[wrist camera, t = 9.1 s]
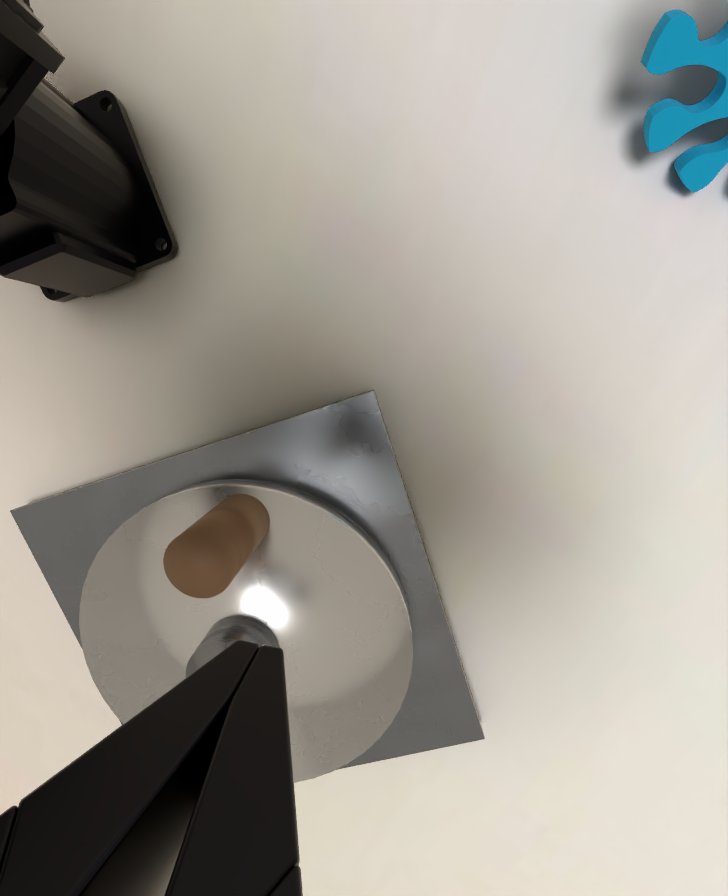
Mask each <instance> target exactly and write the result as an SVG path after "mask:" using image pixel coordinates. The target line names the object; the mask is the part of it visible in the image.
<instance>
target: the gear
mask: <svg viewBox="0 0 728 896" xmlns="http://www.w3.org/2000/svg"><path fill="white" fill-rule="evenodd" d="M641 62H642V64H643V65H644V66H645V67H646V69H647V70H648V71H649V72H650V73H652V74H657V75H659V74H664V73H666V72H669V71H671V70H673V69H675V68H679V67H682V66H686V65H695V64H698V65H706V66H708V67H711V68H713V69H715V70H717V71H718V80H717V83H716V85H715V87H714V89H713V90H712V91H711V93H710V94H709V95H708V96H707V97H706V98H705V99H703V100H702V101H701V102H699V103H697V104H694V105H684V104H682V103H680V102H678V101H676V100H674V99H664V100H661V101H659V102H657V103H655V104H654V105H652V106H651V107H650V108H649V109H648V110H647V114H646V117H645V122H644V140H645V144H646V146H647V148H648V150H649V152H657V151H661V150H663V149H666V148H667V147H669V146H670V145H672V144H673V143H674V142H675V141H676V140H678V139H679V138H680V137H682V136H683V135H684V134H686V133H687V132H689V131H690V130H692V129H694V128H696V127H698V126H700V125H702V124H704V123H707V122H709V121H713V120H716V119H720V118H726V117H728V22H727V23H726V24H725V26H724V27H723V28H722V29H721V30H720V31H719V32H718V33H717V34H716V35H714V36H713V37H711V38H709V39H707V40H703V41H699V38H698V32H697V26H696V23H695V21H694V19H693V18H692V17H691V16H689V15H688V14H686V13H685V12H683V11H681V10H672V11H669V12H666V13H665V14H664V15H663V16H662V18H661V19H660V21H659V22H658V24H657V25H656V27H655V29H654V31H653V33H652V35H651V37H650V39H649V41H648V44H647V46H646V49H645V51H644V54H643V57H642V60H641ZM727 162H728V134H727V135H726V136H725V137H724V138H722V139H721V140H719V141H716V142H713V143H709V144H703V145H698V146H694V147H692V148H690V149H688V150H687V151H685V152H684V153H683V154H682V155H680V157H679V158H678V159H677V160H676V161H675V163H674V167H675V170H676V172H677V174H678V176H679V178H680V179H681V181H682V182H683V184H684V185H685V186H686V187H687V188H688V189H689V190H690V191H692V192H696V191H698V190H700V189H702V188H704V187H705V186H707V185H708V184H709V183H710V182H711V181H712V180H713V179H714V178H715V176H716V175H717V174H718V172H719V171H720V170H721V169H722V168H723V166H724V165H725V164H726V163H727Z"/></svg>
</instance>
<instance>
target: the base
mask: <svg viewBox="0 0 728 896" xmlns="http://www.w3.org/2000/svg"><path fill="white" fill-rule="evenodd" d="M225 479H252V480H263V481H268V482H273V483H278V484H283V485H286V486H289V487H292V488H296V489H299V490H302V491H305V492H307V493H309V494H311V495H313V496H315V497H318V498H320V499H322V500H324V501H326V502H327V503H329V504H331V505H332V506H334V507H335V508H337V509H339V510H340V511H342V512H343V513H345V514H346V515H347V516H348V517H350V518H351V519H352V520H353V521H355V522H356V523H357V524H358V525H359V526H361V527H362V528H363V529H364V530H365V531H366V532H367V534H368V535H369V536H370V537H371V538H372V539H373V540H374V541H375V542H376V543H377V544H378V546H379V547H380V549H381V550H382V551H383V553H384V554H385V555H386V557H387V558H388V560H389V561H390V563H391V565H392V567H393V569H394V570H395V572H396V574H397V576H398V578H399V580H400V583H401V585H402V588H403V591H404V594H405V596H406V600H407V605H408V609H409V614H410V621H411V631H412V645H413V660H412V672H411V677H410V681H409V685H408V689H407V693H406V695H405V698H404V700H403V703H402V705H401V707H400V710H399V711H398V713H397V715H396V716H395V718H394V720H393V721H392V723H391V725H390V726H389V727H388V728H387V730H386V731H385V732H384V733H383V735H382V736H381V737H380V738H379V739H378V740H377V741H376V742H375V743H374V744H373V745H372V746H371V747H370V748H369V749H367V750H366V751H365V752H364V753H363V754H361V755H360V756H358V757H357V758H355V759H354V760H352V761H351V762H350V763H348V764H346V765H344V766H342V767H340V768H338V769H342V768H346V767H351V766H356V765H361V764H366V763H371V762H375V761H380V760H385V759H390V758H395V757H400V756H404V755H409V754H414V753H419V752H424V751H429V750H433V749H438V748H443V747H448V746H453V745H458V744H462V743H467V742H472V741H477V740H482V739H485V738H484V734H483V730H482V727H481V723H480V719H479V716H478V713H477V710H476V707H475V704H474V701H473V698H472V694H471V691H470V688H469V685H468V682H467V679H466V676H465V673H464V670H463V666H462V663H461V660H460V657H459V654H458V651H457V648H456V645H455V642H454V638H453V635H452V632H451V629H450V626H449V623H448V620H447V617H446V613H445V610H444V607H443V604H442V601H441V598H440V595H439V592H438V589H437V585H436V582H435V579H434V576H433V573H432V570H431V567H430V564H429V560H428V557H427V554H426V551H425V548H424V545H423V542H422V539H421V536H420V532H419V529H418V526H417V523H416V520H415V517H414V514H413V511H412V508H411V504H410V501H409V498H408V495H407V492H406V489H405V486H404V483H403V479H402V476H401V473H400V470H399V467H398V464H397V461H396V458H395V455H394V451H393V448H392V445H391V442H390V439H389V436H388V433H387V430H386V426H385V423H384V420H383V417H382V414H381V411H380V408H379V405H378V402H377V398H376V395H375V392H374V390H372V391H369V392H366V393H363V394H360V395H357V396H354V397H351V398H348V399H345V400H342V401H339V402H336V403H333V404H330V405H327V406H324V407H321V408H318V409H315V410H312V411H308V412H305V413H302V414H299V415H296V416H293V417H290V418H287V419H284V420H281V421H278V422H275V423H272V424H269V425H266V426H263V427H260V428H257V429H254V430H251V431H248V432H245V433H242V434H239V435H236V436H233V437H230V438H227V439H224V440H221V441H218V442H214V443H211V444H208V445H205V446H202V447H199V448H196V449H193V450H190V451H187V452H184V453H181V454H178V455H175V456H172V457H169V458H166V459H163V460H160V461H157V462H154V463H151V464H148V465H145V466H142V467H139V468H136V469H133V470H130V471H127V472H123V473H120V474H117V475H114V476H111V477H108V478H105V479H102V480H99V481H96V482H93V483H90V484H87V485H84V486H81V487H78V488H75V489H72V490H69V491H66V492H63V493H60V494H57V495H54V496H51V497H48V498H45V499H42V500H39V501H36V502H33V503H29V504H27V505H24V506H21V507H19V508H16V509H13V510H11V511H10V512H11V514H12V516H13V518H14V519H15V521H16V523H17V525H18V527H19V529H20V531H21V533H22V535H23V537H24V539H25V540H26V542H27V544H28V546H29V548H30V550H31V552H32V554H33V556H34V558H35V560H36V561H37V563H38V565H39V567H40V569H41V571H42V573H43V575H44V577H45V579H46V581H47V582H48V584H49V586H50V588H51V590H52V592H53V594H54V596H55V598H56V600H57V602H58V603H59V605H60V607H61V609H62V611H63V613H64V615H65V617H66V619H67V621H68V623H69V624H70V626H71V628H72V630H73V632H74V634H75V636H76V638H77V640H78V642H79V644H80V645H81V647H82V644H81V636H80V628H79V613H80V602H81V596H82V590H83V586H84V583H85V580H86V577H87V574H88V571H89V569H90V567H91V565H92V563H93V561H94V559H95V557H96V555H97V553H98V552H99V550H100V549H101V547H102V546H103V545H104V543H105V542H106V541H107V539H108V538H109V537H110V536H111V535H112V534H113V533H114V532H115V531H116V530H117V529H118V528H119V527H120V526H121V525H122V524H123V523H124V522H125V521H126V520H128V519H129V518H130V517H132V516H133V515H135V514H136V513H137V512H139V511H140V510H142V509H143V508H145V507H147V506H149V505H150V504H152V503H154V502H156V501H157V500H159V499H161V498H163V497H165V496H167V495H169V494H171V493H173V492H175V491H177V490H180V489H183V488H186V487H189V486H192V485H195V484H199V483H204V482H209V481H214V480H225ZM82 649H83V648H82ZM119 720H120V719H119ZM120 722H121V720H120ZM121 724H122V725H123V723H122V722H121ZM336 770H337V769H336Z"/></svg>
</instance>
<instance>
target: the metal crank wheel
mask: <svg viewBox="0 0 728 896" xmlns="http://www.w3.org/2000/svg"><path fill="white" fill-rule="evenodd" d="M79 628H80V636H81V644H82V648H83V652H84V656H85V660H86V663H87V666H88V668H89V671H90V673H91V676H92V678H93V681H94V683H95V684H96V686H97V688H98V690H99V691H100V693H101V695H102V697H103V699H104V700H105V701H106V703H107V704H108V705H109V707H110V708H111V710H112V711H113V712H114V714H115V715H116V716H117V717H118V718H119V719H120V720H121V722H122V723H123V724H125V723H126V722H127V721H129V720H130V719H131V718H133V717H134V716H135V715H137V714H138V713H140V712H141V711H142V710H144V709H145V708H146V707H148V706H149V705H150V704H152V703H153V702H154V701H156V700H157V699H158V698H160V697H161V696H163V695H164V694H165V693H167V692H168V691H169V690H171V689H172V688H173V687H175V686H176V685H177V684H179V683H180V682H181V681H183V680H184V679H186V678H187V677H188V676H190V675H191V674H192V673H194V672H195V671H196V670H198V669H199V668H200V667H202V666H203V665H204V664H206V663H207V662H209V661H210V660H211V659H213V658H214V657H215V656H217V655H218V654H219V653H221V652H222V651H223V650H225V649H226V648H227V647H229V646H230V645H232V644H233V643H234V642H236V641H238V640H244V641H249V642H254V643H258V644H259V645H260V647H261V646H262V645H269V646H274V647H279V648H282V649H283V652H284V665H285V678H286V691H287V704H288V717H289V729H290V742H291V755H292V768H293V781H294V782H299V781H303V780H308V779H312V778H316V777H318V776H321V775H324V774H327V773H329V772H332V771H334V770H336V769H338V768H340V767H342V766H344V765H346V764H348V763H350V762H351V761H352V760H354V759H355V758H357V757H358V756H360V755H361V754H363V753H364V752H365V751H366V750H367V749H369V748H370V747H371V746H372V745H373V744H374V743H375V742H376V741H377V740H378V739H379V738H380V737H381V736H382V735H383V733H384V732H385V731H386V730H387V728H388V727H389V726H390V725H391V723H392V721H393V720H394V718H395V716H396V715H397V713H398V711H399V710H400V707H401V705H402V703H403V700H404V698H405V695H406V693H407V689H408V685H409V681H410V677H411V672H412V660H413V645H412V631H411V621H410V614H409V609H408V605H407V600H406V596H405V594H404V591H403V588H402V585H401V583H400V580H399V578H398V576H397V574H396V572H395V570H394V569H393V567H392V565H391V563H390V561H389V560H388V558H387V557H386V555H385V554H384V553H383V551H382V550H381V549H380V547H379V546H378V544H377V543H376V542H375V541H374V540H373V539H372V538H371V537H370V536H369V535H368V534H367V532H366V531H365V530H364V529H363V528H362V527H361V526H359V525H358V524H357V523H356V522H355V521H353V520H352V519H351V518H350V517H348V516H347V515H346V514H345V513H343V512H342V511H340V510H339V509H337V508H335V507H334V506H332V505H331V504H329V503H327V502H326V501H324V500H322V499H320V498H318V497H315V496H313V495H311V494H309V493H307V492H305V491H302V490H299V489H296V488H292V487H289V486H286V485H283V484H278V483H273V482H268V481H263V480H252V479H225V480H214V481H209V482H204V483H199V484H195V485H192V486H189V487H186V488H183V489H180V490H177V491H175V492H173V493H171V494H169V495H167V496H165V497H163V498H161V499H159V500H157V501H156V502H154V503H152V504H150V505H149V506H147V507H145V508H143V509H142V510H140V511H139V512H137V513H136V514H135V515H133V516H132V517H130V518H129V519H128V520H126V521H125V522H124V523H123V524H122V525H121V526H120V527H119V528H118V529H117V530H116V531H115V532H114V533H113V534H112V535H111V536H110V537H109V538H108V539H107V541H106V542H105V543H104V545H103V546H102V547H101V549H100V550H99V552H98V553H97V555H96V557H95V559H94V561H93V563H92V565H91V567H90V569H89V571H88V574H87V577H86V580H85V583H84V586H83V590H82V596H81V602H80V613H79Z"/></svg>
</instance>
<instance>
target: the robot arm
mask: <svg viewBox="0 0 728 896" xmlns="http://www.w3.org/2000/svg"><path fill="white" fill-rule="evenodd" d="M33 12H34V11H33V10H32V9H31V7H30V2H29V0H0V275H1V276H3V277H5V278H10V279H14V280H18V281H22V282H26V283H30V284H34V285H38V286H40V287H41V290H42V292H43V293H44V295H45V296H46V297H47V298H48V299H50V300H54V301H59V302H64V301H67V300H69V299H72V298H74V297H77V296H84V297H91V296H94V295H96V294H99V293H101V292H104V291H106V290H109V289H111V288H114V287H116V286H119V285H121V284H124V283H126V282H129V281H131V280H134V279H135V278H136V276H137V274H138V272H139V271H142V270H144V269H147V268H149V267H152V266H154V265H157V264H159V263H162V262H164V261H167V260H169V259H171V258H173V257H174V256H175V255H176V253H177V243H176V241H175V238H174V235H173V233H172V230H171V228H170V225H169V223H168V220H167V217H166V215H165V212H164V210H163V207H162V204H161V202H160V199H159V197H158V194H157V192H156V189H155V186H154V184H153V181H152V179H151V176H150V173H149V171H148V168H147V166H146V163H145V161H144V158H143V155H142V153H141V150H140V148H139V145H138V143H137V140H136V137H135V135H134V132H133V130H132V127H131V124H130V122H129V119H128V117H127V114H126V112H125V109H124V106H123V105H122V103H121V102H120V101H119V99H118V98H117V97H116V96H115V95H113V94H112V93H111V92H110V91H106V90H104V91H100V92H98V93H96V94H94V95H91V96H89V97H87V98H85V99H83V100H81V101H79V102H77V103H74V104H73V103H72V102H71V101H70V100H69V99H67V98H66V97H65V96H64V95H63V94H62V93H60V92H59V91H58V90H57V89H56V88H54V87H53V86H52V85H51V84H50V83H49V82H47V81H46V80H45V79H44V77H45V75H46V74H47V72H48V71H50V72H52V73H53V74H54V73H55V71H56V70H57V69H58V67H59V66H60V64H61V63H62V62H63V60H64V59H65V58H64V56H63V55H62V54H61V53H60V52H59V51H58V50H57V48H56V47H55V46H54V45H53V44H52V43H51V42H50V40H49V39H48V38H47V37H46V36H45V35H44V34H43V33H42V31H41V30H42V29H43V27H44V26H43V24H42V23H41V22H40V21H39V19H38V18H37V17H36V16H35V15H34V13H33ZM110 104H112V108H111V110H110V111H109V112H107V108H108V106H109V105H110ZM164 241H166V242H167V247H166V249H165V250H164V251H162V250H161V244H162V242H164ZM54 289H55V290H58V291H57V293H55V290H54ZM299 860H300V859H299V846H298V833H297V820H296V807H295V794H294V781H293V768H292V755H291V742H290V729H289V717H288V704H287V691H286V678H285V665H284V652H283V649H282V648H279V647H274V646H269V645H262V646H261V647H260V645H259V644H258V643H254V642H249V641H244V640H238V641H236V642H234V643H233V644H232V645H230V646H229V647H227V648H226V649H225V650H223V651H222V652H221V653H219V654H218V655H217V656H215V657H214V658H213V659H211V660H210V661H209V662H207V663H206V664H204V665H203V666H202V667H200V668H199V669H198V670H196V671H195V672H194V673H192V674H191V675H190V676H188V677H187V678H186V679H184V680H183V681H181V682H180V683H179V684H177V685H176V686H175V687H173V688H172V689H171V690H169V691H168V692H167V693H165V694H164V695H163V696H161V697H160V698H158V699H157V700H156V701H154V702H153V703H152V704H150V705H149V706H148V707H146V708H145V709H144V710H142V711H141V712H140V713H138V714H137V715H135V716H134V717H133V718H131V719H130V720H129V721H127V722H126V723H125V724H123V725H122V726H121V727H119V728H118V729H116V730H115V731H114V732H112V733H111V734H110V735H108V736H107V737H106V738H104V739H103V740H102V741H100V742H99V743H98V744H96V745H95V746H93V747H92V748H91V749H89V750H88V751H87V752H85V753H84V754H83V755H81V756H80V757H79V758H77V759H76V760H75V761H73V762H72V763H70V764H69V765H68V766H66V767H65V768H64V769H62V770H61V771H60V772H58V773H57V774H56V775H54V776H53V777H52V778H50V779H49V780H47V781H46V782H45V783H43V784H42V785H41V786H39V787H38V788H37V789H35V790H34V791H33V792H31V793H30V794H28V795H27V796H26V797H24V798H23V799H22V800H21V801H20V803H19V806H18V807H17V806H12V807H10V808H9V809H8V810H6V811H5V812H4V813H2V814H1V815H0V896H303V894H302V881H301V869H300V867H299Z"/></svg>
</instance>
